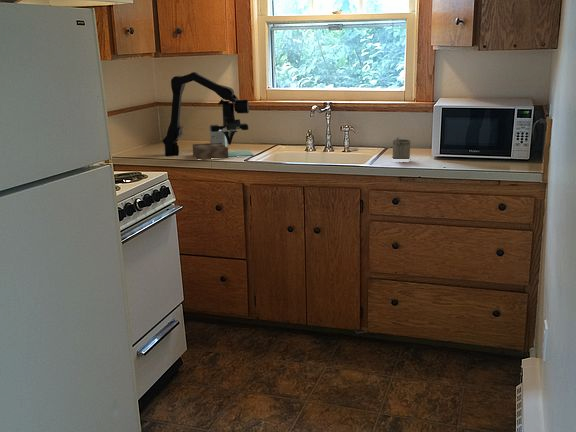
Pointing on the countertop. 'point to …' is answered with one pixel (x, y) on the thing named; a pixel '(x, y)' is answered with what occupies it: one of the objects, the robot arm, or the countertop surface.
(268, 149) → the countertop surface
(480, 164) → the countertop surface
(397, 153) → the jerry can
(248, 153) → the cover plate
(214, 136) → the small box
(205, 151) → the walnut box
